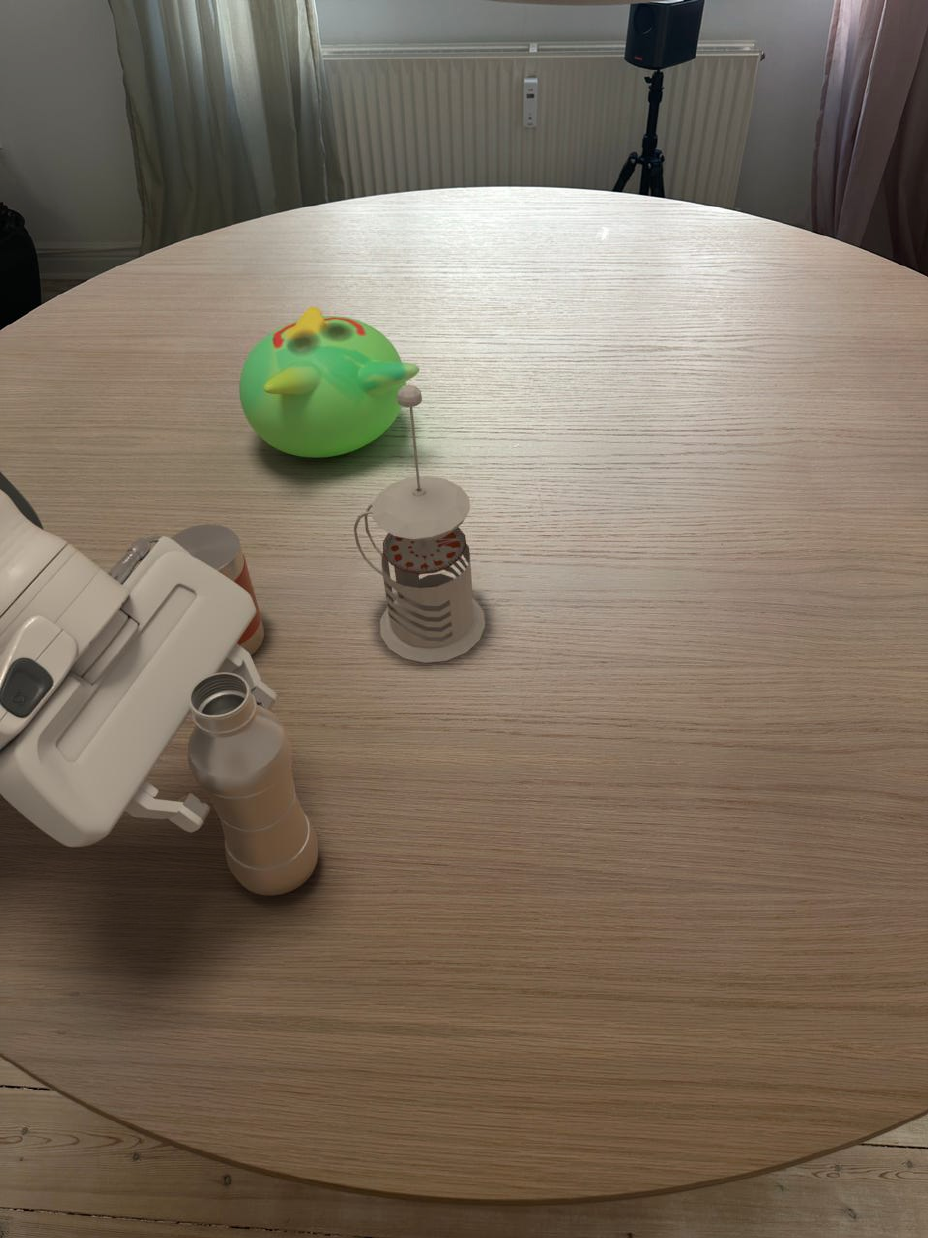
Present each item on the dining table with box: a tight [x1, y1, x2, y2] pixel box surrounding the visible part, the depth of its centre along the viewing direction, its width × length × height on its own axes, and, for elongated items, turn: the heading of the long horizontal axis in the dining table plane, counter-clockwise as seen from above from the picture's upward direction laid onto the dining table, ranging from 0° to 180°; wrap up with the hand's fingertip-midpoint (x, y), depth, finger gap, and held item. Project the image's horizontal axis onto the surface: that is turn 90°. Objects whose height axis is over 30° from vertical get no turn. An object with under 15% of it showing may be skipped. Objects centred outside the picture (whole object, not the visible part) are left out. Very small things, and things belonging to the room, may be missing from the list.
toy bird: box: [238, 306, 420, 459], centre depth 106 cm, size 18×17×15 cm
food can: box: [169, 523, 265, 657], centre depth 86 cm, size 7×7×11 cm
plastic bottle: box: [187, 672, 319, 897], centre depth 66 cm, size 6×7×20 cm
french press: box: [353, 384, 486, 664], centre depth 82 cm, size 10×12×25 cm
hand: (237, 762), depth 64 cm, fingers open, 8 cm apart
